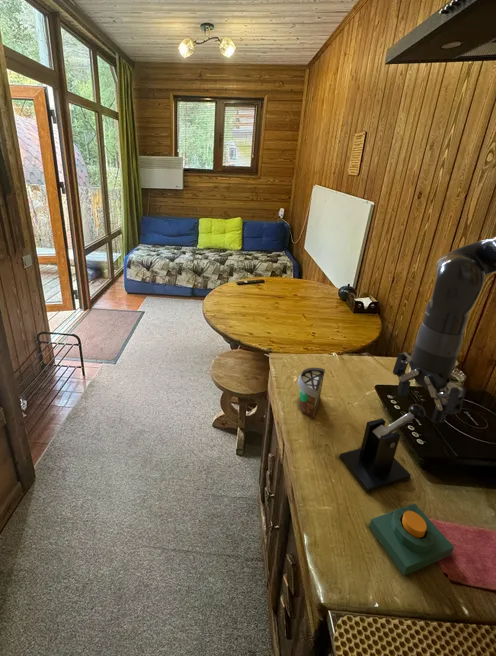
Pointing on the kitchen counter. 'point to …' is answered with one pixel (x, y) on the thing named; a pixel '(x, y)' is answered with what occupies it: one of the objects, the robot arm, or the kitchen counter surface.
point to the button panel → (410, 540)
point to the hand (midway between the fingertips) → (418, 407)
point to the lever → (400, 421)
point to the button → (414, 524)
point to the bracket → (376, 460)
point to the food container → (310, 389)
